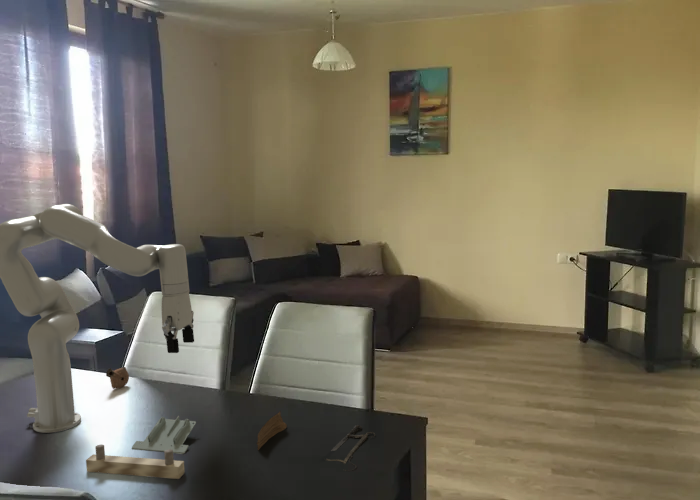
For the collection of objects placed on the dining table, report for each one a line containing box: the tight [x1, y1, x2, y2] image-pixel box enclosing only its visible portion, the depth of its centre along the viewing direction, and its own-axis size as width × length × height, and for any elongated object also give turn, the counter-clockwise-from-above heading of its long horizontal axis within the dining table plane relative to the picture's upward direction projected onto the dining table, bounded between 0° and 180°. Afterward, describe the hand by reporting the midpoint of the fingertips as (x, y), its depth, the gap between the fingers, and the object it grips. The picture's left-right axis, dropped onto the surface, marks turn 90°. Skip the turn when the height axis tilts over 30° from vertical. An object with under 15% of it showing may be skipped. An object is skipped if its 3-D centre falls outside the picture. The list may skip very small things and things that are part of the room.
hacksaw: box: [324, 424, 376, 472], centre depth 166 cm, size 24×10×1 cm, turn 155°
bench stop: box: [85, 444, 186, 480], centre depth 154 cm, size 24×3×6 cm, turn 80°
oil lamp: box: [105, 366, 130, 390], centre depth 211 cm, size 9×4×8 cm, turn 154°
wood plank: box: [256, 410, 288, 451], centre depth 172 cm, size 15×2×5 cm, turn 162°
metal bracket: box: [131, 415, 197, 455], centre depth 171 cm, size 14×6×15 cm
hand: (181, 347), depth 181 cm, fingers open, 9 cm apart
